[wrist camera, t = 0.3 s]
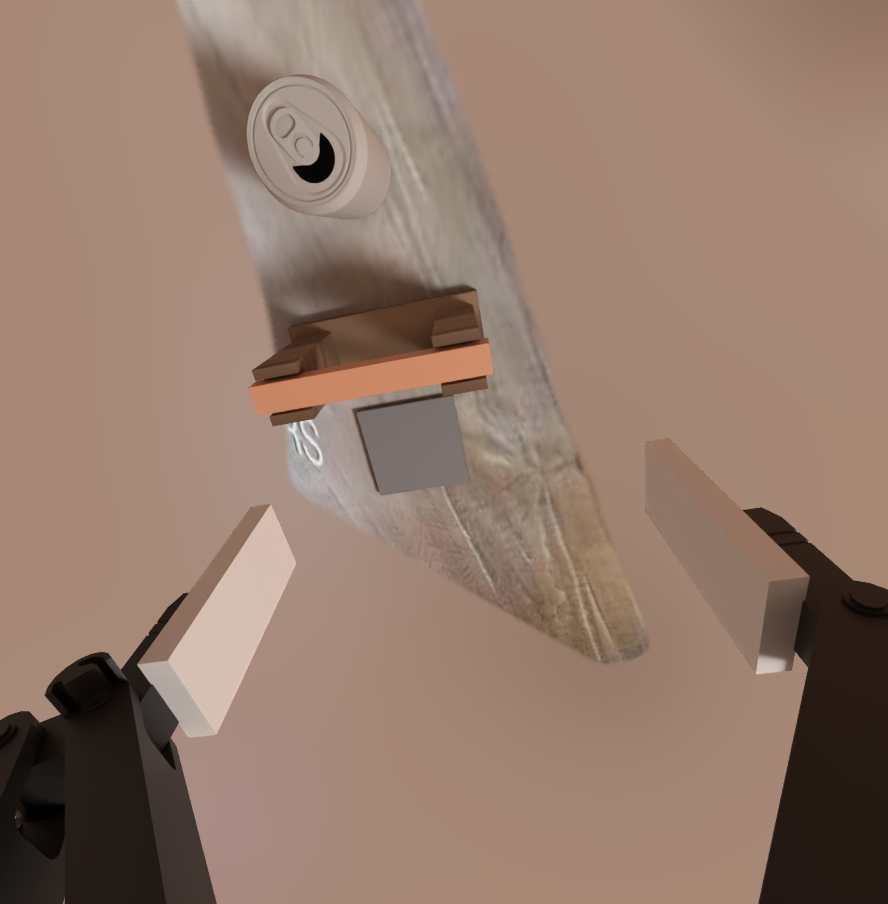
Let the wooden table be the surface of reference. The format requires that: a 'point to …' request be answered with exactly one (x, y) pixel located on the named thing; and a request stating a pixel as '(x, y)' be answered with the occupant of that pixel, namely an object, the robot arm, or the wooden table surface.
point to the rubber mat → (414, 444)
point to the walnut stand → (377, 342)
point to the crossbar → (373, 377)
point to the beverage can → (316, 149)
